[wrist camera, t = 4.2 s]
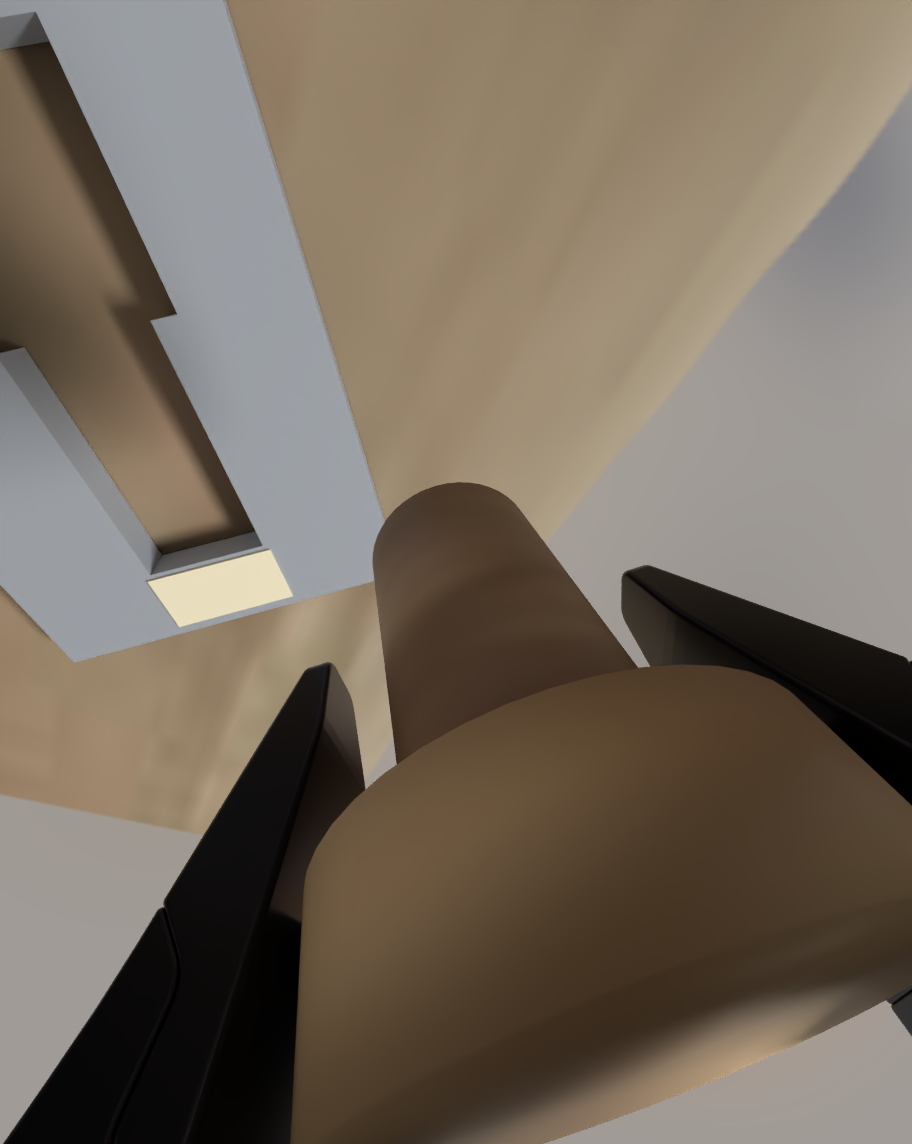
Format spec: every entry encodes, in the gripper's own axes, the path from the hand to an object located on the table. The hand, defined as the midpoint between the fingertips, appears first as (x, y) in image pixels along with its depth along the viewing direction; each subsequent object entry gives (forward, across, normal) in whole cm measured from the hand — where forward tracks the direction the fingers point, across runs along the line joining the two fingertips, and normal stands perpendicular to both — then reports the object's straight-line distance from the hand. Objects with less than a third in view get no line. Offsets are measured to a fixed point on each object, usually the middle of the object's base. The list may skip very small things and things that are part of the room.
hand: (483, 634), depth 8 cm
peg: (+2, 0, 0) cm, 3 cm away
